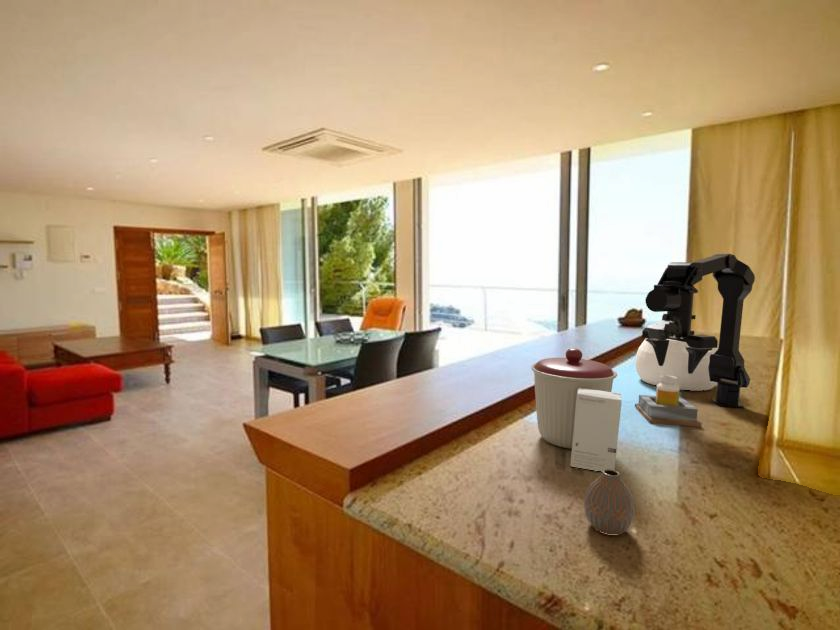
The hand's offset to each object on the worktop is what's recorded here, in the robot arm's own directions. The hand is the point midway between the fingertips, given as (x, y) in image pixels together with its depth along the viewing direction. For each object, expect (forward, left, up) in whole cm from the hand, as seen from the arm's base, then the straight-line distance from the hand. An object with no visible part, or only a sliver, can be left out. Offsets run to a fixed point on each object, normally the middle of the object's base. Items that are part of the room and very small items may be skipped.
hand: (675, 369), depth 123 cm
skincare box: (+38, -26, -13) cm, 48 cm away
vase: (+61, -28, -13) cm, 69 cm away
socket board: (0, -1, -13) cm, 13 cm away
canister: (+25, -29, -13) cm, 41 cm away
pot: (-41, +15, -13) cm, 45 cm away
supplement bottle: (0, -1, -12) cm, 12 cm away
